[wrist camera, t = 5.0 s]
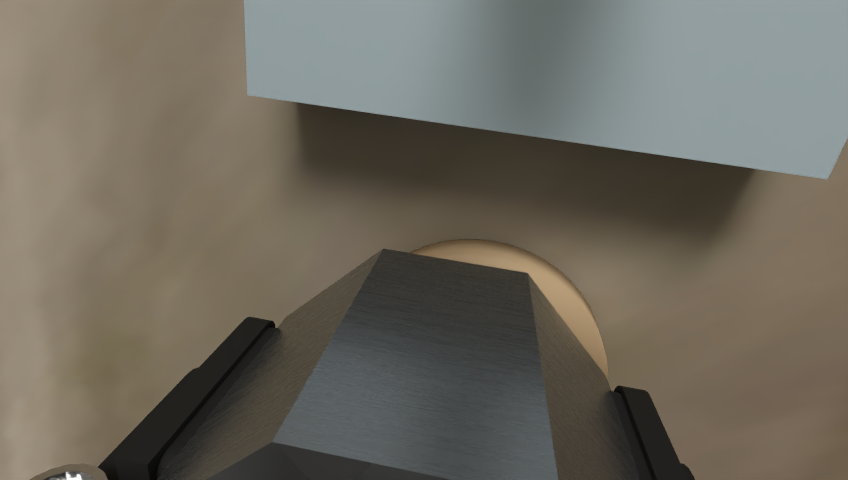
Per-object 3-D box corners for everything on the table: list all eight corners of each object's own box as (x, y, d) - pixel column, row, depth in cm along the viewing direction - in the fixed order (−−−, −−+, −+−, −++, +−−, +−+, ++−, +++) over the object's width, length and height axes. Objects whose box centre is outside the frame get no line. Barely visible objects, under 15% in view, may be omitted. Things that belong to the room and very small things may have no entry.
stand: (566, 465, 13) (602, 723, 8) (350, 416, 14) (259, 625, 9) (632, 264, 10) (745, 458, 5) (364, 219, 11) (247, 351, 6)
